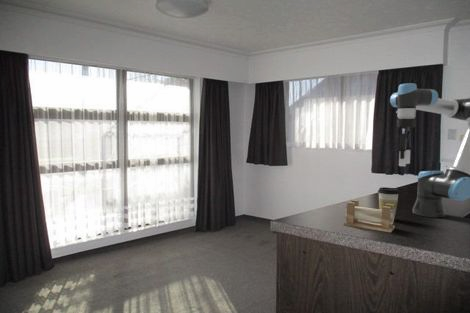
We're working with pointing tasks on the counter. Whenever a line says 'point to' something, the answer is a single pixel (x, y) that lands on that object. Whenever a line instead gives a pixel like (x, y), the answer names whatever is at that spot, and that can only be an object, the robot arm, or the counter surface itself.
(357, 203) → the wooden stand
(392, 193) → the coffee cup
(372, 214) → the rail
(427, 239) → the counter surface
